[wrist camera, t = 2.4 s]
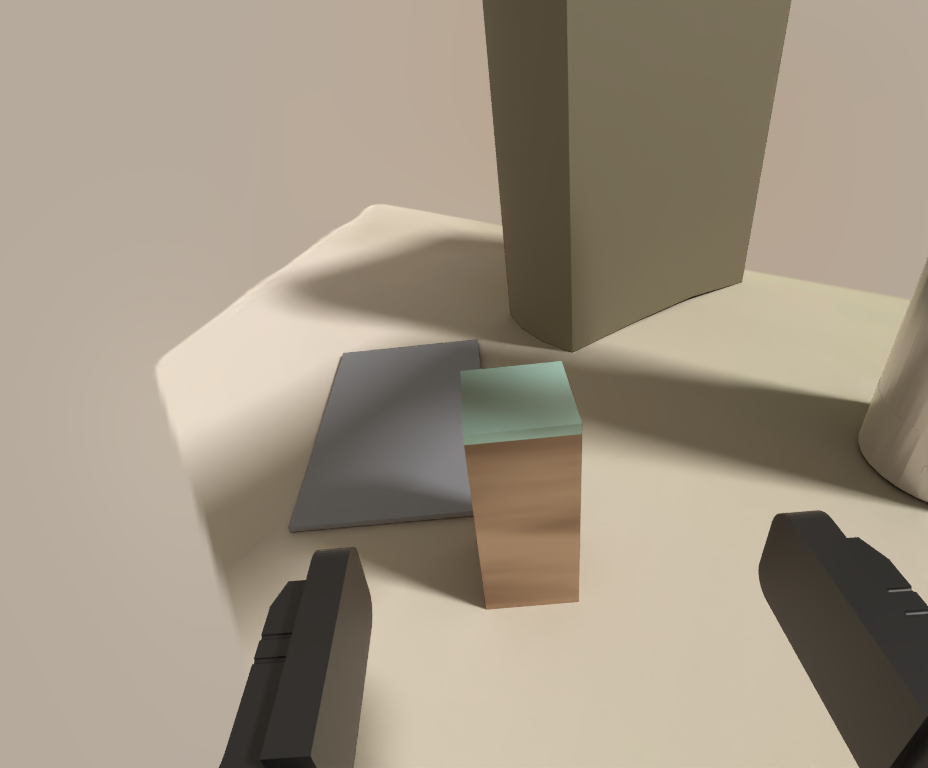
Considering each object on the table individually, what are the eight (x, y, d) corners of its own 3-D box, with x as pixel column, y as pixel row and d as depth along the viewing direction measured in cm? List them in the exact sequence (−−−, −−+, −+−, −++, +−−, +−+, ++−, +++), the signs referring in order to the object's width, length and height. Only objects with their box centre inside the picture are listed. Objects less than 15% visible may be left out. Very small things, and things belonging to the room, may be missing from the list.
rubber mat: (344, 356, 49) (343, 353, 48) (478, 343, 48) (477, 339, 48) (290, 532, 32) (288, 527, 32) (494, 513, 32) (493, 509, 31)
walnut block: (481, 536, 30) (460, 371, 24) (562, 529, 30) (561, 360, 24) (486, 609, 27) (462, 434, 21) (578, 601, 26) (582, 423, 20)
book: (564, 361, 46) (553, -71, 30) (503, 321, 52) (468, -46, 37) (741, 282, 53) (808, -98, 37) (667, 256, 60) (696, -72, 44)
